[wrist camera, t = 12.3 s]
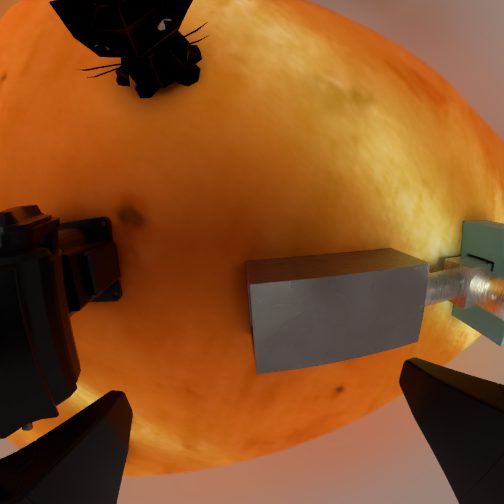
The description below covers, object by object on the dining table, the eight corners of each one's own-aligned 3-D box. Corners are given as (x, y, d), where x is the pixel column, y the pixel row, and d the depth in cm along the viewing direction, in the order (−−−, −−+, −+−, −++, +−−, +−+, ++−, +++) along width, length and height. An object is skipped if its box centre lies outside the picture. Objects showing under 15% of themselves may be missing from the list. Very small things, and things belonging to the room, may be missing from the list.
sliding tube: (318, 319, 20) (381, 413, 10) (319, 274, 19) (398, 350, 9) (478, 285, 21) (548, 320, 11) (482, 252, 20) (558, 279, 10)
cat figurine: (127, 123, 17) (28, 61, 5) (120, 53, 15) (50, -28, 4) (220, 95, 17) (209, -15, 5) (204, 28, 15) (188, -81, 4)
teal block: (451, 314, 22) (500, 346, 15) (463, 221, 20) (523, 234, 13) (477, 305, 23) (522, 331, 15) (487, 220, 21) (541, 232, 13)
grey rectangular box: (250, 334, 21) (256, 373, 16) (245, 261, 20) (250, 284, 14) (385, 314, 22) (417, 341, 16) (391, 248, 20) (429, 263, 15)
